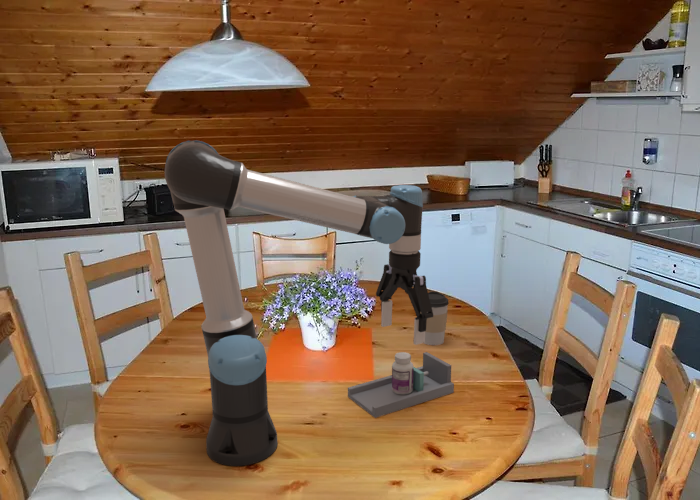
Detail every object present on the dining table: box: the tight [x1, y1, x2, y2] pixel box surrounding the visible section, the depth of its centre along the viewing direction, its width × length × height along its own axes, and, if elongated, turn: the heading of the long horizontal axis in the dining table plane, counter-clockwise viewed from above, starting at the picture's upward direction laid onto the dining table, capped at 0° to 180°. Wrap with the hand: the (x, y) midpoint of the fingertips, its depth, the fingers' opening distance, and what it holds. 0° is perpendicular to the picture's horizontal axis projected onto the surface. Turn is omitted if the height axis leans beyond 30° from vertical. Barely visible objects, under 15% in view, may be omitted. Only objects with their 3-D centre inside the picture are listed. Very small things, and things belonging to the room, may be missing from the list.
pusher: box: [413, 366, 429, 392], centre depth 157 cm, size 5×7×5 cm
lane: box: [347, 351, 455, 419], centre depth 154 cm, size 24×12×7 cm, turn 121°
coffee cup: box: [420, 290, 449, 346], centre depth 187 cm, size 9×9×15 cm
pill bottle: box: [391, 351, 414, 395], centre depth 154 cm, size 5×5×10 cm
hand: (402, 334), depth 151 cm, fingers open, 13 cm apart
